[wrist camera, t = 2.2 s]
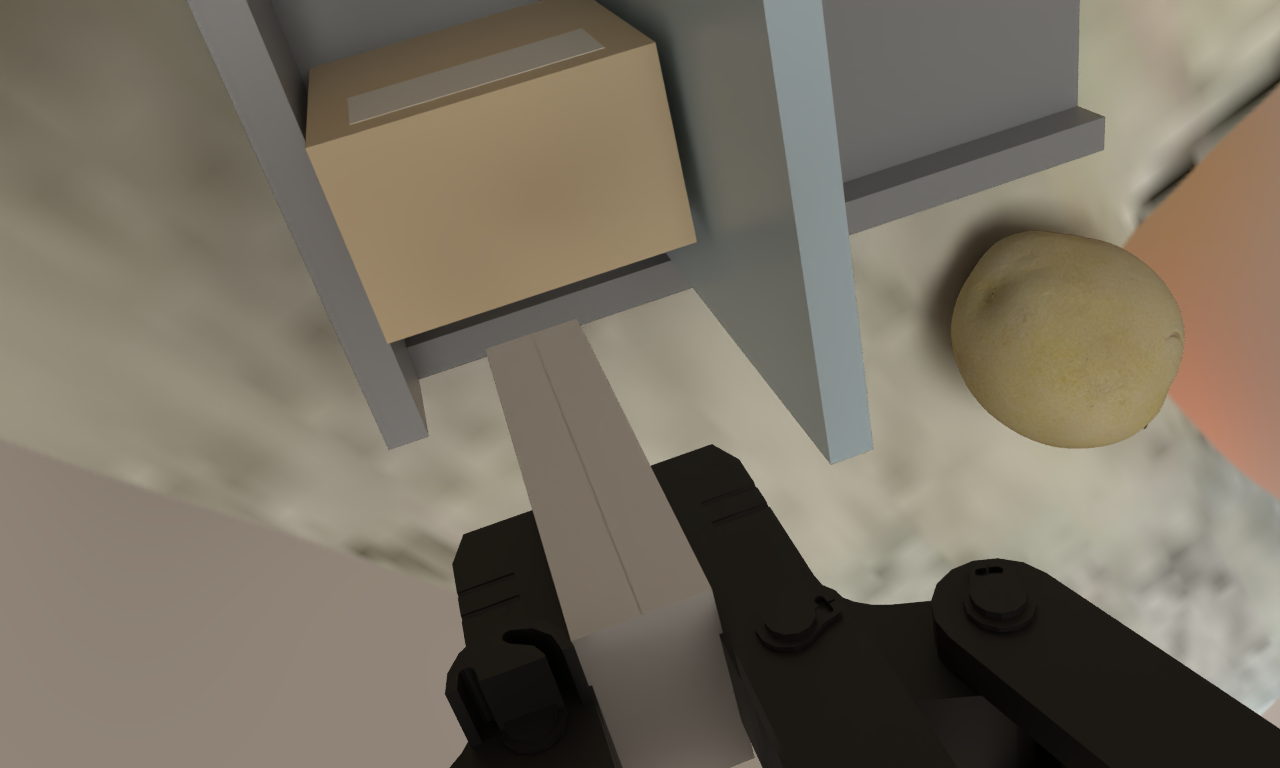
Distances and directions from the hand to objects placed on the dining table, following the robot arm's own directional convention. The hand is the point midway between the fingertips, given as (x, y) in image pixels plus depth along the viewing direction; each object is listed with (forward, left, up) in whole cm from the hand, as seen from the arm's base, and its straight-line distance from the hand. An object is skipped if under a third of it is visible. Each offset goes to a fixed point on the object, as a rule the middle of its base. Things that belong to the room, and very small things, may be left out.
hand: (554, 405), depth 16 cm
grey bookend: (0, +7, -16) cm, 18 cm away
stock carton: (0, +1, -17) cm, 17 cm away
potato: (+13, +19, -18) cm, 29 cm away
